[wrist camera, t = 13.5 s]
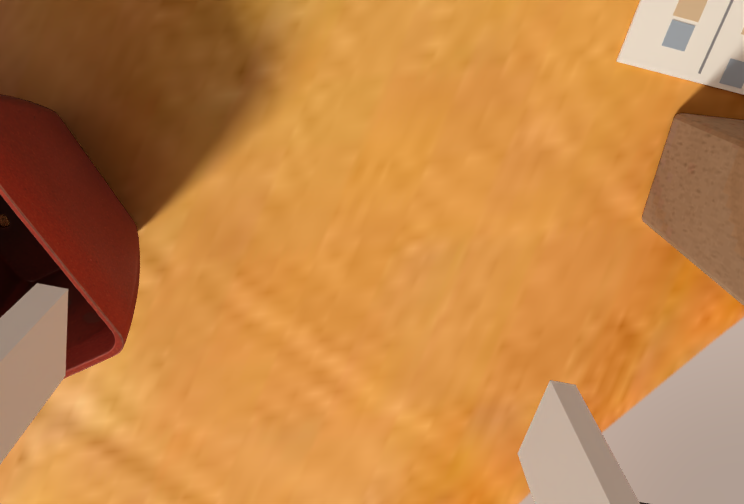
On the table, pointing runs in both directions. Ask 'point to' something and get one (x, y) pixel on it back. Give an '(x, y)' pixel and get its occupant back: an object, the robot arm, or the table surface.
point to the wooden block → (703, 196)
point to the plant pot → (64, 232)
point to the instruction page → (689, 41)
